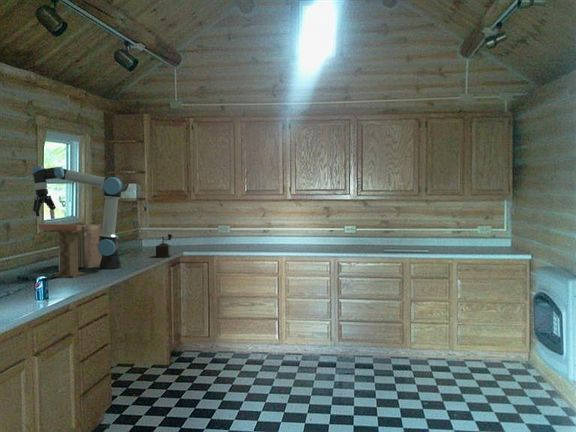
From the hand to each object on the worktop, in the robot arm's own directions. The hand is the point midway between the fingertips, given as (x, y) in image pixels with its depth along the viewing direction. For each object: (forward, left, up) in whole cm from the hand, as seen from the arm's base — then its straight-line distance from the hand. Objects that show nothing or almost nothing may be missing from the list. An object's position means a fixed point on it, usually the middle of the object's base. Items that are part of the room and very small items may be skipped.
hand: (46, 220), depth 394 cm
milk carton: (-12, -1, -35) cm, 37 cm away
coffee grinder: (-84, -60, -35) cm, 109 cm away
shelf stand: (-15, +22, -35) cm, 44 cm away
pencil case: (-10, +18, -5) cm, 22 cm away
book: (-26, -21, -35) cm, 49 cm away
